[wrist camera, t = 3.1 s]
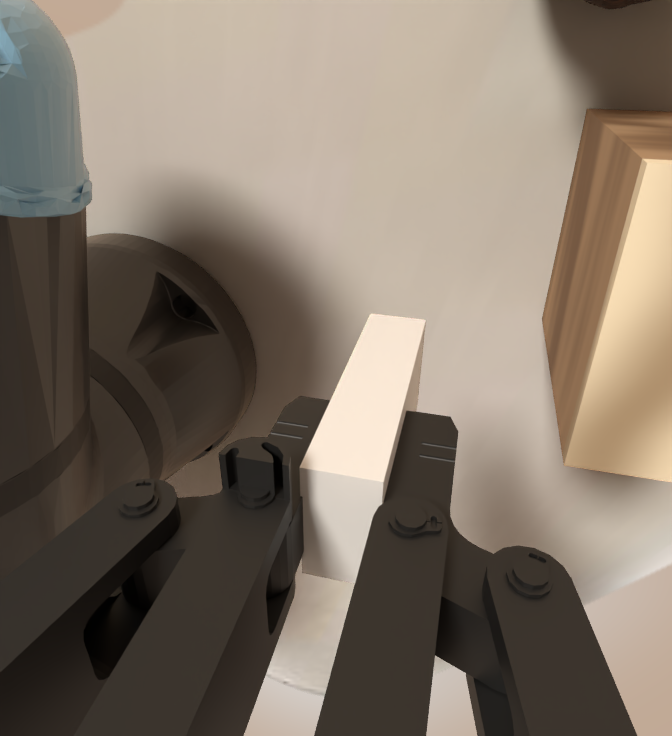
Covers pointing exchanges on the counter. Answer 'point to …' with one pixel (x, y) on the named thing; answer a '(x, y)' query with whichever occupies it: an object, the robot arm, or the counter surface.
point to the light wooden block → (615, 299)
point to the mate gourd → (614, 3)
